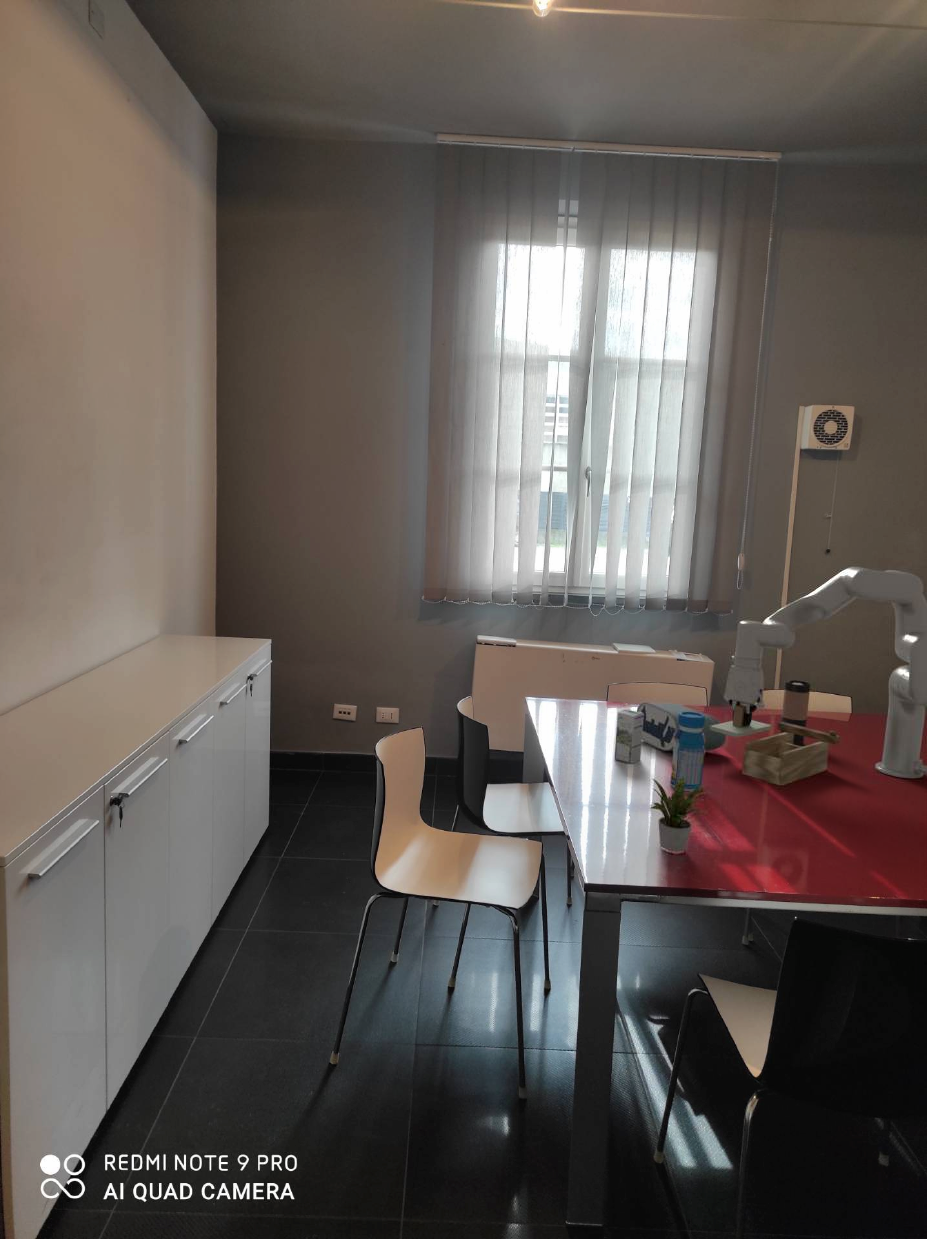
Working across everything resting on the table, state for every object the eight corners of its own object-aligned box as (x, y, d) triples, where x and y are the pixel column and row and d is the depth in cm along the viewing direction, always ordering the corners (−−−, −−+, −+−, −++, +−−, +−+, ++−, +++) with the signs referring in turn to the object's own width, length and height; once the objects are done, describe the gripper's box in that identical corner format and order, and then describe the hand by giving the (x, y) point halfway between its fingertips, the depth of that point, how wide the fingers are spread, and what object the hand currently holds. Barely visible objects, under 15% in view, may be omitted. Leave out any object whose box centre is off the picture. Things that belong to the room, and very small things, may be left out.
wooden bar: (839, 742, 246) (840, 732, 246) (834, 744, 245) (836, 733, 244) (781, 728, 260) (782, 717, 259) (777, 729, 258) (778, 718, 258)
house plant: (720, 866, 180) (727, 792, 177) (655, 866, 178) (662, 790, 176) (696, 839, 194) (703, 769, 191) (636, 838, 192) (642, 768, 190)
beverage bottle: (686, 794, 223) (692, 719, 221) (662, 784, 231) (668, 712, 228) (708, 789, 228) (715, 716, 225) (685, 780, 235) (691, 709, 232)
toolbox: (826, 770, 250) (829, 740, 249) (781, 785, 234) (784, 754, 233) (788, 759, 259) (791, 730, 258) (742, 773, 243) (745, 742, 242)
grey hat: (632, 737, 274) (637, 698, 273) (681, 736, 282) (686, 698, 280) (673, 758, 254) (678, 716, 253) (725, 756, 262) (730, 715, 260)
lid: (771, 729, 255) (773, 705, 254) (737, 737, 243) (739, 713, 242) (743, 722, 262) (746, 699, 261) (709, 729, 250) (712, 705, 249)
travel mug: (806, 747, 273) (812, 686, 270) (780, 745, 274) (787, 684, 272) (801, 741, 280) (808, 681, 278) (777, 738, 282) (783, 679, 279)
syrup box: (641, 760, 251) (644, 712, 249) (630, 764, 246) (634, 715, 244) (624, 755, 255) (628, 708, 253) (613, 759, 250) (617, 711, 248)
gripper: (716, 659, 254) (710, 719, 256) (766, 669, 241) (759, 732, 244) (730, 657, 258) (724, 716, 261) (780, 667, 246) (773, 729, 249)
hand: (741, 723), depth 252 cm, fingers closed on lid, 2 cm apart
